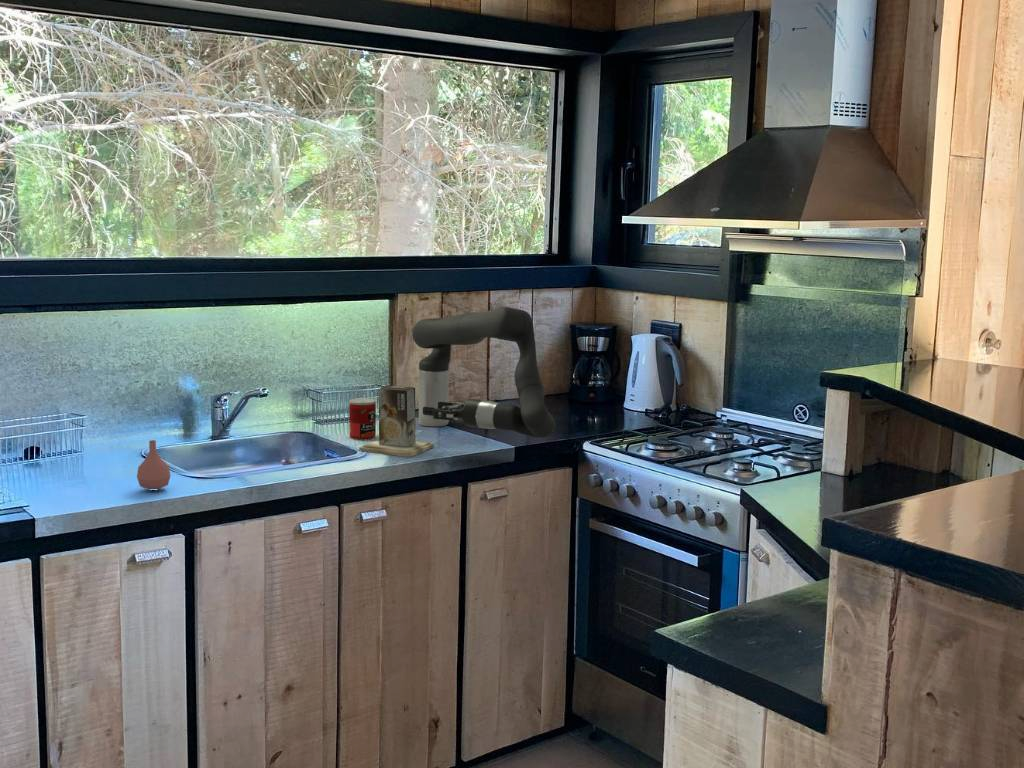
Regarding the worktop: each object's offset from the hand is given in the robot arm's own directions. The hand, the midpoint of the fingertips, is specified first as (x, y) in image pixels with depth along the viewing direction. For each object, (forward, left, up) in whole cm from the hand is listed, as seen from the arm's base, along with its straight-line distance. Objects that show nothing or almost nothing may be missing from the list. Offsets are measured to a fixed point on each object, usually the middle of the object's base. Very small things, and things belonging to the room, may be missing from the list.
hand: (430, 407), depth 309 cm
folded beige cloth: (+1, -11, -13) cm, 16 cm away
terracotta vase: (+67, -39, -13) cm, 78 cm away
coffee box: (+1, -10, -11) cm, 15 cm away
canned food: (-8, -28, -13) cm, 32 cm away
